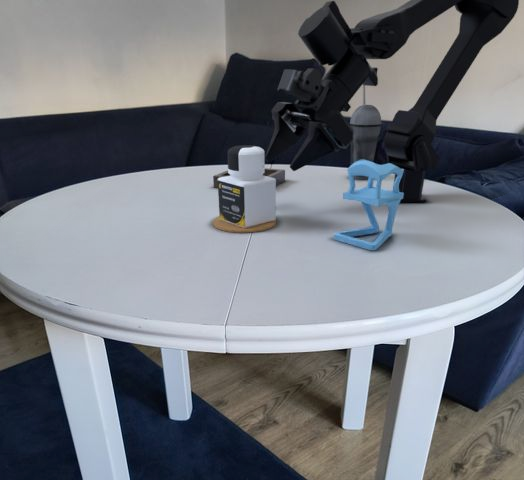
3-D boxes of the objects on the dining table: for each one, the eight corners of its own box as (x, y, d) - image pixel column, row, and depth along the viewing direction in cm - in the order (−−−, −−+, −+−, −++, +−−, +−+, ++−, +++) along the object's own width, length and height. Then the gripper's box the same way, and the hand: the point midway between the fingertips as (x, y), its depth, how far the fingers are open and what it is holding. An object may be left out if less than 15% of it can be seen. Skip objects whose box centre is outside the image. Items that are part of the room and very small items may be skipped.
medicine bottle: (218, 220, 85) (214, 146, 78) (250, 212, 89) (248, 141, 82) (244, 229, 80) (242, 151, 74) (276, 220, 84) (277, 146, 78)
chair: (404, 238, 76) (416, 158, 70) (373, 251, 72) (382, 165, 65) (364, 228, 81) (372, 151, 75) (332, 239, 76) (338, 158, 70)
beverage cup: (378, 181, 112) (389, 82, 101) (347, 181, 112) (354, 82, 101) (373, 174, 118) (383, 80, 107) (343, 174, 118) (350, 81, 108)
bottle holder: (285, 180, 113) (285, 169, 111) (263, 192, 103) (263, 180, 102) (238, 176, 117) (237, 165, 116) (213, 187, 107) (213, 175, 106)
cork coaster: (276, 232, 80) (276, 230, 79) (209, 232, 80) (209, 230, 79) (275, 214, 89) (275, 211, 89) (216, 214, 89) (216, 212, 89)
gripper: (281, 49, 82) (224, 124, 84) (343, 46, 68) (273, 137, 70) (318, 98, 89) (265, 167, 91) (381, 106, 75) (317, 187, 77)
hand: (278, 164), depth 82 cm, fingers open, 9 cm apart
